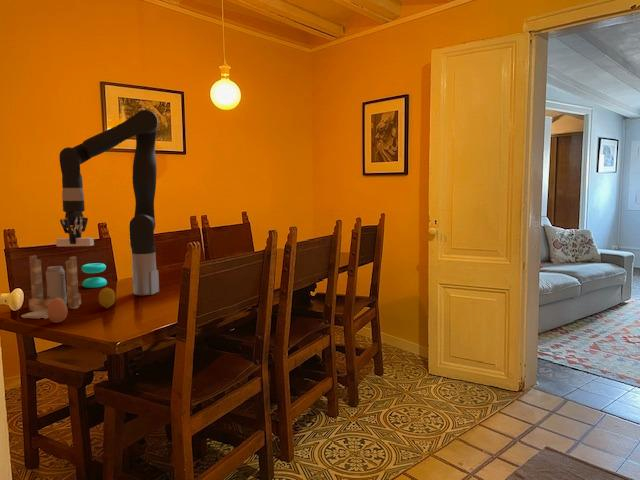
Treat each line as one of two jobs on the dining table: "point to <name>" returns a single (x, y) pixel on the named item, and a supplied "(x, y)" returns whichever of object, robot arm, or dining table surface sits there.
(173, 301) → the dining table surface
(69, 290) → the cradle
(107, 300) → the lemon
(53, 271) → the energy drink can
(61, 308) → the egg
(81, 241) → the bar
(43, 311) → the coaster
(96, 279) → the donuts
